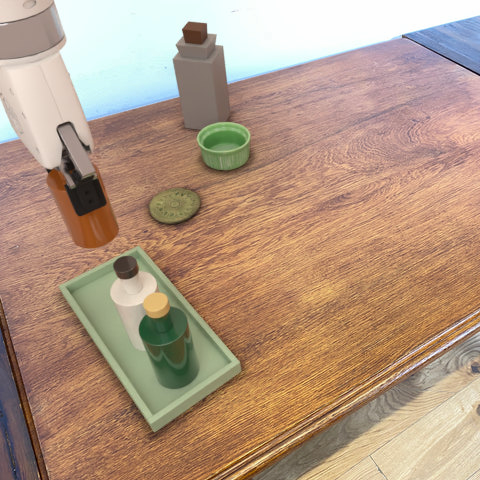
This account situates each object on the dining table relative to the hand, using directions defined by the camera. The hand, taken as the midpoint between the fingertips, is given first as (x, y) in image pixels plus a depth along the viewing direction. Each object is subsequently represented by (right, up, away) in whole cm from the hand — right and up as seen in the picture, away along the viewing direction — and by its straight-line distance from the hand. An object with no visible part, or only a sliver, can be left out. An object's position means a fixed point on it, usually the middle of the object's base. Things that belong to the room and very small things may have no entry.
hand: (79, 193), depth 55 cm
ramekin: (+10, +9, +35) cm, 37 cm away
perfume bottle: (+5, +18, +43) cm, 46 cm away
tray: (+4, -17, +9) cm, 19 cm away
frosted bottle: (+5, -17, +8) cm, 19 cm away
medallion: (+3, 0, +25) cm, 25 cm away
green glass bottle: (+9, -20, +4) cm, 23 cm away
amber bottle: (0, -4, +4) cm, 6 cm away
